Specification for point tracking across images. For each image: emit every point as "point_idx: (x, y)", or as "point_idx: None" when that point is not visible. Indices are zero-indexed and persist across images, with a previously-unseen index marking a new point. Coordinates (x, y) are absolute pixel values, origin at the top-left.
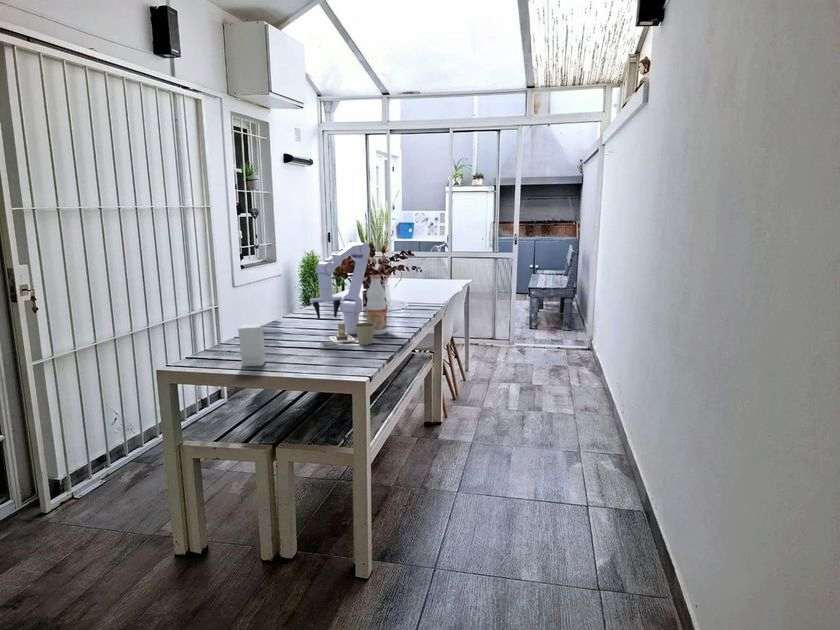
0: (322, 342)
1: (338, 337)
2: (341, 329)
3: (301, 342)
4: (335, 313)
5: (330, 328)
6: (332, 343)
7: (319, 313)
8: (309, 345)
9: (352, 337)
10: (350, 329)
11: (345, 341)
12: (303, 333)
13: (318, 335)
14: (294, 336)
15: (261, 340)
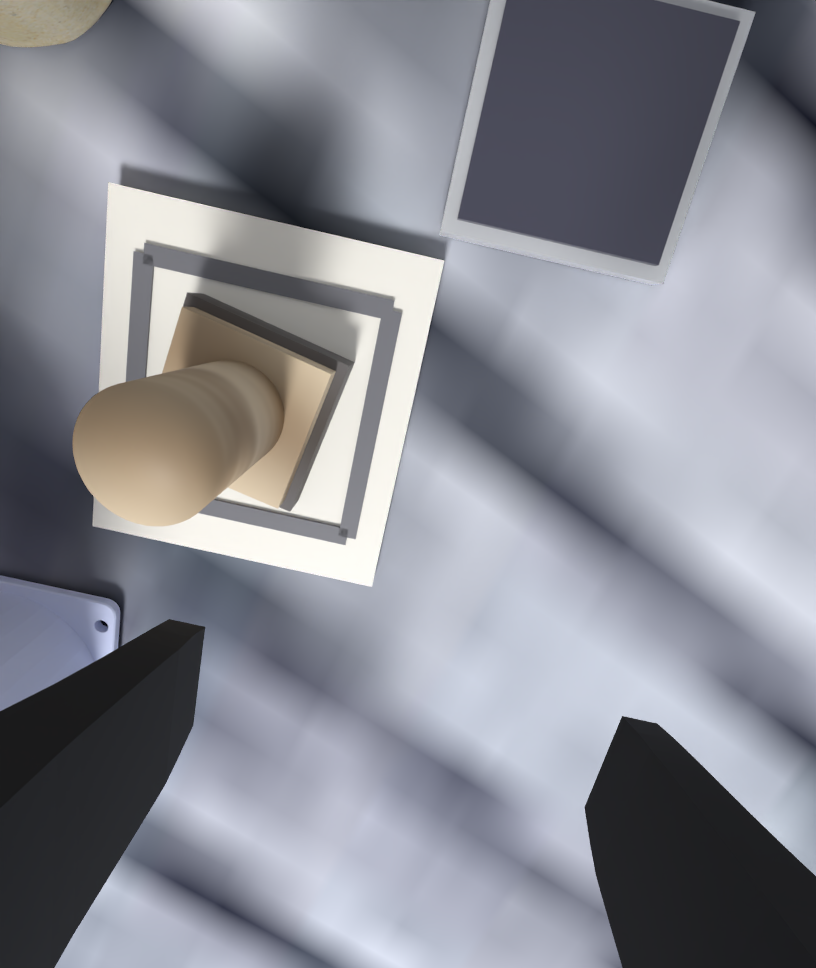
0: (645, 258)
1: (322, 353)
2: (220, 375)
3: (760, 575)
4: (136, 675)
5: (180, 923)
6: (556, 78)
7: (719, 834)
8: (779, 365)
9: (104, 353)
10: (15, 632)
11: (271, 220)
12: (512, 903)
13: (420, 750)
14: None
15: None
